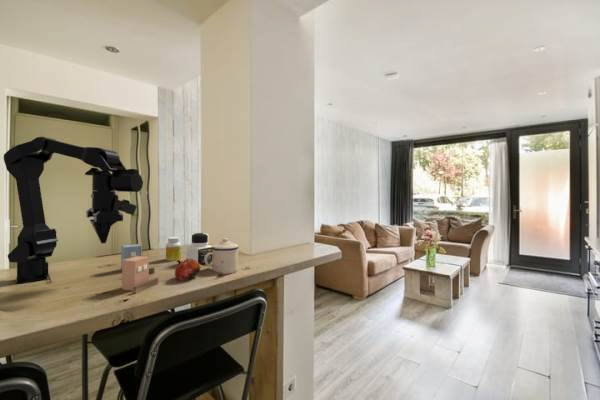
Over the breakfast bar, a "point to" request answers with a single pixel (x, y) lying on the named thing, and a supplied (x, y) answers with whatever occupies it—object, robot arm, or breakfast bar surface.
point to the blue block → (130, 251)
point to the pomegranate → (187, 269)
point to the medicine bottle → (199, 249)
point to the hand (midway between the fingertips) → (103, 243)
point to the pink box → (134, 272)
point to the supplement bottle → (173, 249)
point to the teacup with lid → (223, 257)
